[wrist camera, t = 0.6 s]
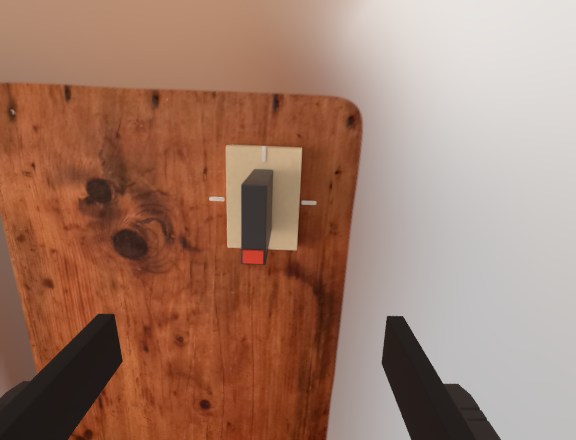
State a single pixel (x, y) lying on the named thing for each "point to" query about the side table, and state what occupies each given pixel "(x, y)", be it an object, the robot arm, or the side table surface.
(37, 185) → the side table surface
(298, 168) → the plate
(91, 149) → the side table surface
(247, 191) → the thumbturn
